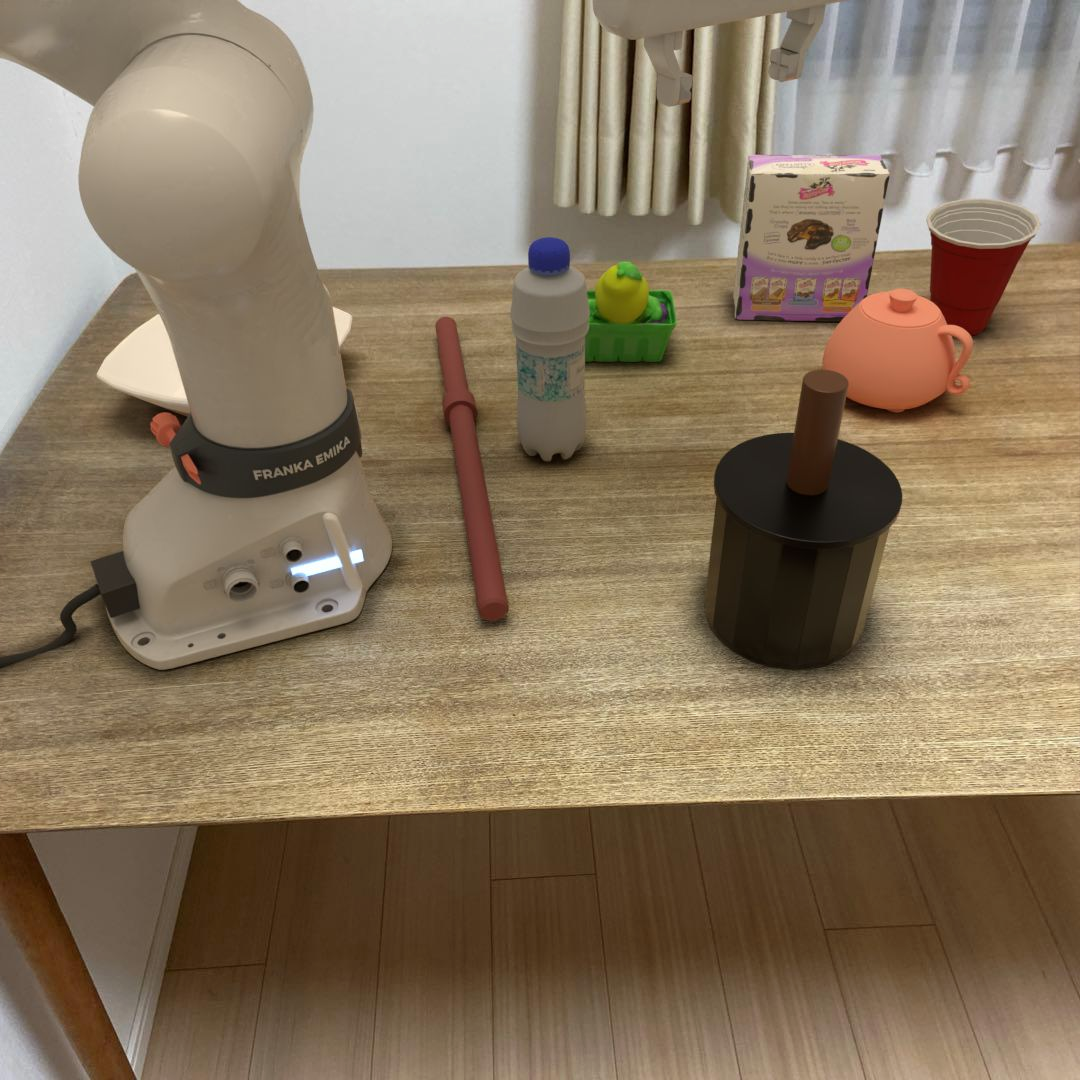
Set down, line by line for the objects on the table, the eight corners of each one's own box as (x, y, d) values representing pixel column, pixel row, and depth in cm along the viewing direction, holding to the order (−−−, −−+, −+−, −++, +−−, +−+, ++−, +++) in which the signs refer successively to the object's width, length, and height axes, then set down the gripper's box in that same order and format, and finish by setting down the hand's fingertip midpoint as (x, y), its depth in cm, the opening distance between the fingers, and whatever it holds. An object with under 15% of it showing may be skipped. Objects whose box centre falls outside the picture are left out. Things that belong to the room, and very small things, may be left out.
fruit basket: (668, 332, 110) (675, 232, 103) (675, 374, 103) (683, 270, 96) (563, 333, 111) (563, 233, 103) (563, 375, 104) (562, 271, 97)
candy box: (855, 299, 115) (883, 152, 105) (862, 324, 111) (893, 173, 100) (731, 296, 116) (747, 150, 106) (734, 320, 112) (750, 171, 101)
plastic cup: (882, 314, 112) (904, 208, 105) (958, 293, 116) (985, 189, 108) (951, 358, 105) (981, 247, 97) (1031, 334, 108) (1065, 226, 100)
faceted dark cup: (775, 693, 70) (799, 568, 63) (673, 596, 78) (684, 475, 71) (896, 629, 75) (931, 505, 68) (788, 544, 83) (809, 425, 75)
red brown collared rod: (432, 339, 110) (429, 313, 108) (461, 337, 110) (459, 310, 108) (473, 629, 76) (471, 598, 74) (515, 624, 76) (514, 593, 74)
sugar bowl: (852, 345, 107) (871, 253, 101) (984, 388, 100) (1013, 292, 94) (796, 394, 100) (812, 298, 93) (933, 444, 93) (961, 344, 86)
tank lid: (798, 581, 63) (821, 460, 57) (676, 481, 71) (685, 366, 65) (939, 514, 68) (973, 395, 62) (809, 427, 76) (829, 315, 70)
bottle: (581, 472, 91) (583, 260, 78) (508, 464, 92) (498, 254, 79) (593, 430, 96) (597, 225, 83) (524, 424, 97) (517, 220, 84)
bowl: (82, 428, 98) (64, 381, 95) (207, 325, 114) (196, 281, 110) (280, 467, 92) (269, 418, 89) (383, 353, 108) (377, 308, 105)
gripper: (848, -178, 65) (814, 55, 74) (579, -153, 57) (577, 105, 66) (924, -170, 61) (878, 76, 70) (645, -142, 53) (634, 131, 62)
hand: (730, 90), depth 68 cm, fingers open, 8 cm apart
